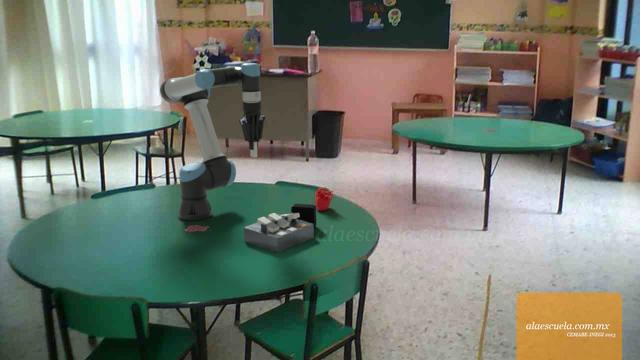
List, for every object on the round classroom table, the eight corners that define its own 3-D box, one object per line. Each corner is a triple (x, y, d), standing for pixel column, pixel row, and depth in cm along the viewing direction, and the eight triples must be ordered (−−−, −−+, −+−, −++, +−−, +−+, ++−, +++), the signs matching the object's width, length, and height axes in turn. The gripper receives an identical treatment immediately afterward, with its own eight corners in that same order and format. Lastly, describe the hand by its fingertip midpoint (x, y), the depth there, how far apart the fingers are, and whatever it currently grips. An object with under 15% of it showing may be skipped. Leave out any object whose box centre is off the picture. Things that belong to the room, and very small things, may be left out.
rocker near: (257, 222, 251) (257, 218, 250) (263, 219, 253) (263, 216, 253) (272, 232, 246) (273, 228, 245) (278, 230, 248) (279, 226, 248)
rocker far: (279, 220, 260) (278, 216, 260) (285, 218, 262) (284, 214, 262) (294, 218, 254) (293, 214, 253) (299, 216, 256) (298, 212, 256)
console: (244, 241, 254) (243, 220, 252) (280, 227, 269) (280, 207, 267) (277, 252, 242) (276, 231, 240) (313, 237, 257) (313, 216, 255)
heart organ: (331, 204, 299) (331, 180, 295) (336, 212, 288) (336, 187, 284) (310, 205, 297) (310, 181, 294) (315, 213, 286) (314, 188, 283)
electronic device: (314, 230, 266) (314, 207, 263) (291, 228, 268) (291, 206, 265) (316, 226, 270) (316, 204, 267) (293, 225, 272) (293, 203, 269)
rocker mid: (267, 218, 255) (268, 214, 254) (273, 216, 258) (274, 212, 257) (283, 228, 250) (283, 224, 250) (289, 226, 253) (289, 222, 252)
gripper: (246, 104, 251) (248, 161, 258) (269, 100, 261) (271, 155, 267) (233, 102, 256) (236, 158, 263) (257, 98, 266) (259, 152, 272)
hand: (253, 156), depth 265 cm, fingers closed
